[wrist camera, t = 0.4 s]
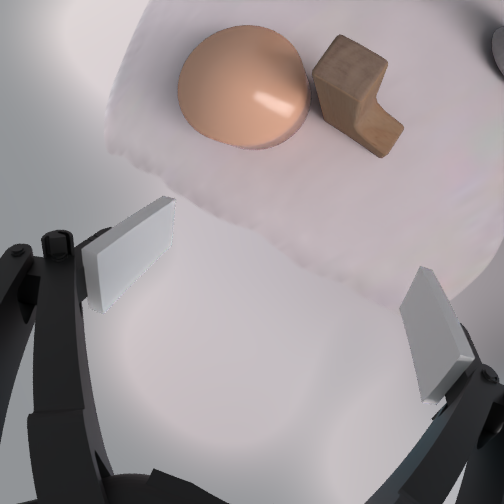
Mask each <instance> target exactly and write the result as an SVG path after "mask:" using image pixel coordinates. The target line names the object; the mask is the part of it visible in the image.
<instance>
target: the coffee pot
mask: <svg viewBox="0 0 504 504" xmlns="http://www.w3.org/2000/svg"><path fill="white" fill-rule="evenodd" d="M492 52H493V56H494V59H495V62H496V64H497V66H498V68H499V70H500V71H501V72H502V74H503V76H504V26H502V27H500V28H498V29H497V30H496V31H495V32H494V34H493V38H492Z"/></svg>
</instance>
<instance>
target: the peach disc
mask: <svg viewBox="0 0 504 504" xmlns="http://www.w3.org/2000/svg"><path fill="white" fill-rule="evenodd" d="M178 100H179V105H180V108H181V111H182V113H183V115H184V117H185V118H186V120H187V121H188V123H189V124H190V125H191V126H192V127H193V128H194V129H195V130H197V131H198V132H199V133H201V134H202V135H204V136H206V137H208V138H211V139H213V140H216V141H219V142H222V143H226V144H229V145H232V146H235V147H238V148H242V149H247V150H261V149H267V148H271V147H274V146H276V145H279V144H281V143H282V142H284V141H286V140H287V139H289V138H290V137H291V136H293V135H294V134H295V133H296V132H297V131H298V129H299V128H300V127H301V126H302V124H303V123H304V121H305V119H306V117H307V115H308V112H309V109H310V104H311V90H310V85H309V82H308V79H307V76H306V73H305V70H304V67H303V64H302V61H301V59H300V56H299V54H298V52H297V51H296V49H295V48H294V46H293V45H292V44H291V43H290V42H289V41H288V40H287V39H286V38H284V37H283V36H282V35H280V34H279V33H277V32H275V31H273V30H270V29H268V28H264V27H260V26H252V25H243V26H235V27H231V28H227V29H224V30H221V31H219V32H217V33H215V34H213V35H211V36H210V37H208V38H206V39H205V40H204V41H203V42H201V43H200V44H199V45H198V46H197V47H196V48H195V49H194V50H193V51H192V53H191V54H190V55H189V57H188V58H187V60H186V61H185V63H184V65H183V68H182V70H181V73H180V76H179V81H178Z"/></svg>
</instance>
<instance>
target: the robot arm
mask: <svg viewBox="0 0 504 504" xmlns="http://www.w3.org/2000/svg"><path fill="white" fill-rule="evenodd" d="M175 203H176V199H174V198H170V197H166V196H162V197H161V198H159V199H157V200H156V201H154V202H153V203H151V204H149V205H147V206H146V207H144V208H142V209H141V210H139V211H138V212H136V213H135V214H133V215H131V216H130V217H128V218H127V219H125V220H124V221H122V222H121V223H119V224H117V225H116V226H115V227H113V228H112V227H109V228H105V229H102V230H100V231H98V232H97V233H95V234H94V235H93V236H91V237H89V238H88V239H87V240H85V241H83V242H82V243H80V244H79V245H78V246H76V247H74V242H73V235H72V233H71V232H69V231H66V230H55V231H51V232H48V233H46V234H45V235H44V236H43V237H42V238H41V241H42V249H43V254H44V257H37V256H33V252H32V248H31V246H30V245H28V244H17V245H16V244H15V245H13V246H12V247H10V248H8V249H7V250H6V251H5V253H4V254H3V255H2V257H1V258H0V442H1V437H2V431H3V426H4V422H5V417H6V413H7V408H8V404H9V400H10V397H11V393H12V389H13V385H14V382H15V378H16V375H17V371H18V369H19V365H20V362H21V359H22V356H23V353H24V350H25V347H26V344H27V341H28V338H29V336H30V333H31V331H32V328H33V325H34V323H35V333H34V352H33V398H34V399H33V400H34V412H33V413H32V414H29V416H28V418H27V429H28V441H29V450H30V458H31V465H32V472H33V478H34V484H35V490H36V494H37V499H35V500H32V501H27V502H23V503H18V504H229V503H226V502H225V501H223V500H221V499H219V498H217V497H215V496H213V495H212V494H210V493H208V492H206V491H205V490H203V489H201V488H199V487H198V486H196V485H194V484H193V483H191V482H188V481H185V480H182V479H179V478H177V477H174V476H171V475H169V474H166V473H164V472H161V471H159V470H156V469H153V471H152V473H151V475H145V474H120V475H114V473H113V470H112V467H111V465H110V463H109V460H108V457H107V454H106V451H105V447H104V443H103V440H102V435H101V432H100V427H99V422H98V418H97V413H96V408H95V403H94V398H93V392H92V386H91V380H90V374H89V367H88V360H87V351H86V343H85V333H84V321H83V310H82V309H83V308H82V301H83V300H84V299H85V298H86V297H87V298H88V305H89V308H90V309H92V310H94V311H97V312H99V313H101V314H104V313H105V312H106V311H107V310H108V309H109V308H110V307H111V306H112V305H113V304H114V303H115V302H116V301H117V300H118V299H119V297H121V296H122V294H123V293H124V292H125V291H126V290H127V289H128V288H129V287H130V286H131V285H132V284H133V283H134V282H135V281H136V280H137V279H138V278H139V277H140V276H141V275H142V274H143V273H144V272H145V271H146V270H147V269H148V268H149V267H150V266H151V265H152V264H153V263H154V262H155V261H156V260H157V259H158V258H159V257H160V256H161V255H162V254H163V253H165V252H166V251H167V250H168V249H169V248H170V247H171V246H172V238H173V225H174V214H175ZM400 312H401V315H402V319H403V322H404V326H405V330H406V334H407V337H408V341H409V345H410V349H411V353H412V358H413V361H414V366H415V371H416V375H417V380H418V385H419V390H420V394H421V400H422V403H425V404H435V405H437V404H438V402H439V401H440V400H441V399H442V398H443V397H444V396H445V397H446V401H447V403H446V404H445V405H444V406H443V407H442V408H441V409H440V410H439V411H438V412H437V414H435V416H434V417H433V418H432V420H433V422H432V423H431V425H430V426H429V427H428V429H427V430H426V432H425V433H424V434H423V436H422V437H421V439H420V440H419V441H418V443H417V444H416V445H415V447H414V448H413V449H412V451H411V452H410V453H409V454H408V456H407V457H406V458H405V459H404V460H403V462H402V463H401V464H400V465H399V467H398V468H397V469H396V470H395V471H394V473H393V474H392V475H391V476H390V477H389V478H388V479H387V480H386V482H385V483H384V484H383V485H382V486H381V487H380V488H379V489H378V490H377V491H376V492H375V493H374V494H373V496H371V497H370V498H369V500H368V501H367V502H366V503H365V504H442V503H443V502H444V501H445V499H446V497H447V496H448V494H449V492H450V491H451V489H452V487H453V486H454V484H455V482H456V481H457V479H458V477H459V475H460V474H461V472H462V470H463V468H464V466H465V464H466V462H467V465H466V468H465V473H464V476H463V480H462V484H461V487H460V490H459V493H458V496H457V500H456V503H455V504H504V385H502V384H500V383H499V378H498V375H497V374H496V372H495V371H494V370H493V369H492V368H491V367H489V366H488V365H485V364H482V362H481V360H480V358H479V356H478V353H477V351H476V349H475V347H474V344H473V342H472V340H471V338H470V335H469V333H468V331H467V330H466V329H465V327H464V326H463V325H462V324H461V323H459V321H458V319H457V317H456V314H455V312H454V310H453V308H452V306H451V304H450V302H449V300H448V299H447V297H446V295H445V293H444V291H443V289H442V287H441V285H440V283H439V282H438V280H437V278H436V276H435V274H434V272H433V271H432V270H431V269H428V268H425V267H422V266H420V268H419V270H418V272H417V274H416V276H415V278H414V280H413V282H412V285H411V287H410V289H409V291H408V293H407V295H406V297H405V299H404V301H403V302H402V304H401V306H400Z"/></svg>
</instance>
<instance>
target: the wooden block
mask: <svg viewBox="0 0 504 504" xmlns="http://www.w3.org/2000/svg"><path fill="white" fill-rule="evenodd" d="M387 66H388V62H387V60H386V59H384V58H383V57H381V56H379V55H378V54H376V53H374V52H372V51H371V50H369V49H367V48H366V47H364V46H362V45H360V44H358V43H356V42H355V41H353V40H351V39H349V38H347V37H345V36H343V35H338V36H337V37H336V38H335V39H334V41H333V42H332V43H331V45H330V46H329V48H328V49H327V50H326V52H325V53H324V55H323V56H322V57H321V59H320V60H319V62H318V63H317V65H316V66H315V67H314V69H313V70H312V76H313V79H314V83H315V87H316V90H317V94H318V98H319V102H320V106H321V109H322V113H323V117H324V120H325V121H326V122H327V123H329V124H330V125H332V126H334V127H335V128H337V129H338V130H340V131H341V132H343V133H344V134H346V135H347V136H349V137H350V138H352V139H353V140H355V141H356V142H358V143H359V144H361V145H362V146H363V147H365V148H366V149H368V150H369V151H371V152H372V153H373V154H375V155H376V156H378V157H379V158H383V157H384V156H386V155H387V154H388V153H389V152H390V150H391V149H392V147H393V146H394V144H395V142H396V141H397V139H398V138H399V136H400V135H401V133H402V131H403V130H404V126H403V125H402V124H401V123H399V122H398V121H397V120H396V119H394V118H393V117H392V116H391V115H389V114H388V113H387V112H385V111H384V109H383V108H382V107H381V106H380V105H379V104H378V103H377V99H376V95H377V92H378V90H379V87H380V85H381V82H382V79H383V77H384V74H385V71H386V69H387Z"/></svg>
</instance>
